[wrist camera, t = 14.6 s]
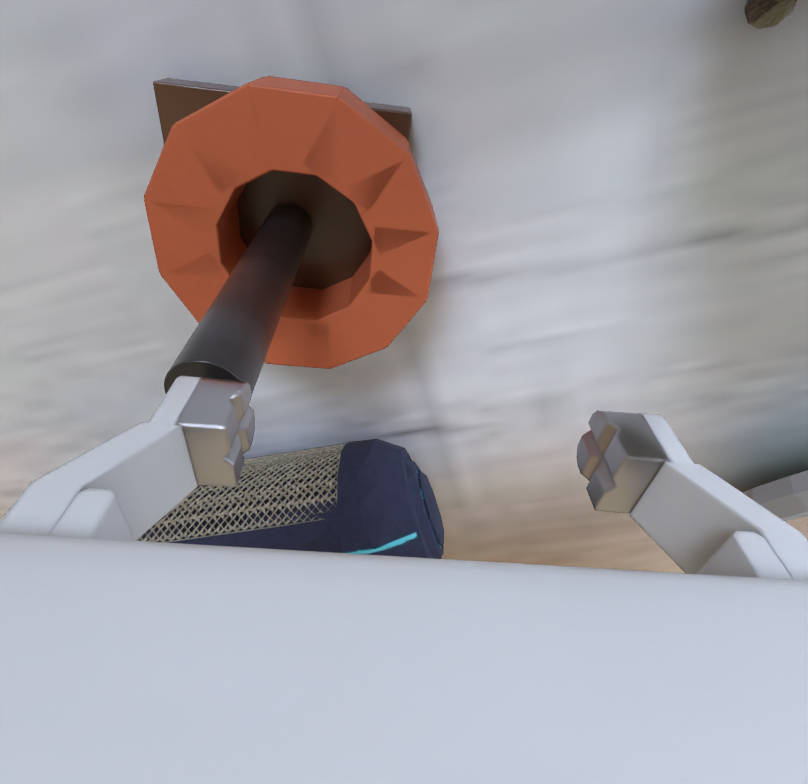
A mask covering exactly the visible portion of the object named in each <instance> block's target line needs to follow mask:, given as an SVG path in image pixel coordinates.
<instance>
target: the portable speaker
mask: <svg viewBox="0 0 808 784" xmlns="http://www.w3.org/2000/svg"><path fill="white" fill-rule="evenodd" d="M197 486H198V487H197V488H196V489H195V490H193V491H192V492H191V493H190V494H189V495H188V496H187V497H185V498H184V499H183V500H182V501H181V502H180V503H179V504H177V505H176V506H175V507H174V508H173V509H172V510H170V511H169V512H168V513H167V514H166V515H165V516H164V517H162V518H161V519H160V520H159V521H158V522H157V523H156V524H154V525H153V526H152V527H151V528H150V529H149V530H147V531H146V532H145V533H144V534H143V535H142V536H141V537H139V538H138V539H137V540H136V541H147V542H164V543H181V544H197V545H214V546H231V547H248V548H265V549H282V550H299V551H316V552H333V553H350V554H367V555H384V556H401V557H417V558H434V559H442V558H441V557H442V555H443V544H444V528H443V524H442V519H441V515H440V512H439V509H438V506H437V502H436V499H435V496H434V493H433V490H432V488H431V486H430V483H429V481H428V479H427V476H426V475H425V474H423V473H422V472H421V471H420V469H419V468H418V466H417V465H416V463H415V462H413V461H412V460H411V458H410V456H409V454H408V453H407V451H406V450H405V448H402V447H399V446H396V445H393V444H390V443H387V442H384V441H381V440H378V439H373V440H364V441H354V442H348V443H345V444H338V445H332V446H325V447H319V448H312V449H306V450H300V451H294V452H288V453H281V454H275V455H268V456H262V457H255V458H249V459H244V467H243V469H242V472H241V475H240V478H239V480H238V483H237V486H215V485H197Z"/></svg>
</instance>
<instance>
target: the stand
mask: <svg viewBox="0 0 808 784" xmlns="http://www.w3.org/2000/svg"><path fill="white" fill-rule="evenodd" d="M153 85H154V90H155V96H156V101H157V107H158V112H159V118H160V123H161V129H162V134H163V140H164V145H165V142H166V140H167V137H168V135H169V132H170V130H171V127H172V126H173V125H174V124H175V123H176V122H178V121H179V120H181V119H183V118H185V117H187V116H189V115H190V114H192V113H194V112H196V111H198V110H199V109H201V108H203V107H205V106H207V105H208V104H210V103H212V102H214V101H216V100H217V99H219V98H221V97H223V96H225V95H226V94H228V93H230V92H232V91H234V90H235V89H237V88H239V87H236V86H228V85H220V84H212V83H203V82H195V81H187V80H179V79H171V78H166V79H162V80H158V81H154V82H153ZM364 103H365V104H366V105H368V106H369V107H370V108H371V109H372V110H373V111H375V112H376V113H377V114H378V115H379V116H381V117H382V118H383V119H384V120H385V121H387V122H388V123H389V124H390V125H391V126H393V127H394V128H395V129H396V130H397V131H398V132H400V133H401V134H402V135H403V136H404V137H406V140H408V143H409V134H410V125H411V111H410V108H408V107H399V106H391V105H383V104H375V103H367V102H364ZM237 204H238V215H239V226H240V237H241V239H242V240H243V242H244V243H245V245H246V247H247V249H246V251H245V252H244V254H243V255H242V257H241V259H240V260H239V262H238V263H237V265H236V266H235V268H234V270H233V271H232V273H231V274H230V276H229V277H228V279H227V281H226V282H225V284H224V285H223V287H222V288H221V290H220V292H219V293H218V295H217V296H216V298H215V299H214V301H213V303H212V304H211V306H210V307H209V309H208V310H207V312H206V313H205V315H204V317H203V318H202V320H201V321H200V323H199V324H198V326H197V328H196V329H195V331H194V332H193V334H192V335H191V337H190V339H189V340H188V342H187V343H186V345H185V346H184V348H183V350H182V351H181V353H180V354H179V356H178V357H177V359H176V361H175V362H174V364H173V365H172V367H171V368H170V370H169V372H168V373H167V375H166V377H165V382H164V388H165V393H166V394H167V392H168V391H169V389H170V387H171V386H172V384H173V383H174V381H175V379H176V378H178V377H180V376H191V377H201V378H214V379H224V380H234V381H243V382H248V383H249V384H250V388H251V394H252V393H253V390H254V388H255V385H256V382H257V379H258V377H259V374H260V371H261V369H262V366H263V363H264V361H265V358H266V355H267V352H268V350H269V347H270V344H271V342H272V339H273V336H274V333H275V331H276V328H277V325H278V323H279V320H280V317H281V315H282V312H283V309H284V306H285V304H286V301H287V298H288V296H289V293H290V290H291V288H292V286H295V287H305V288H315V289H325V288H327V287H330V286H332V285H335V284H337V283H339V282H342V281H344V280H346V279H349V278H351V277H353V275H354V274H355V273H356V271H357V270H358V269H359V267H360V266H361V264H362V263H363V262H364V260H365V259H366V257H367V256H368V255H369V253H370V252H371V245H372V240H371V238H370V236H369V234H368V232H367V230H366V227H365V225H364V223H363V221H362V219H361V217H360V215H359V213H358V211H357V208H356V206H355V204H354V203H353V202H352V201H351V200H349V199H348V198H346V197H345V196H344V195H342V194H341V193H340V192H338V191H337V190H336V189H334V188H333V187H332V186H330V185H329V184H327V183H326V182H325V181H323V180H322V179H321V178H319V177H318V176H315V175H307V174H299V173H291V172H282V171H274V170H272V171H270V172H268V173H266V174H264V175H262V176H260V177H258V178H256V179H254V180H252V181H250V182H248V183H247V184H246V185H245V187H244V189H243V191H242V193H241V195H240V197H239V199H238V201H237Z"/></svg>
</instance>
